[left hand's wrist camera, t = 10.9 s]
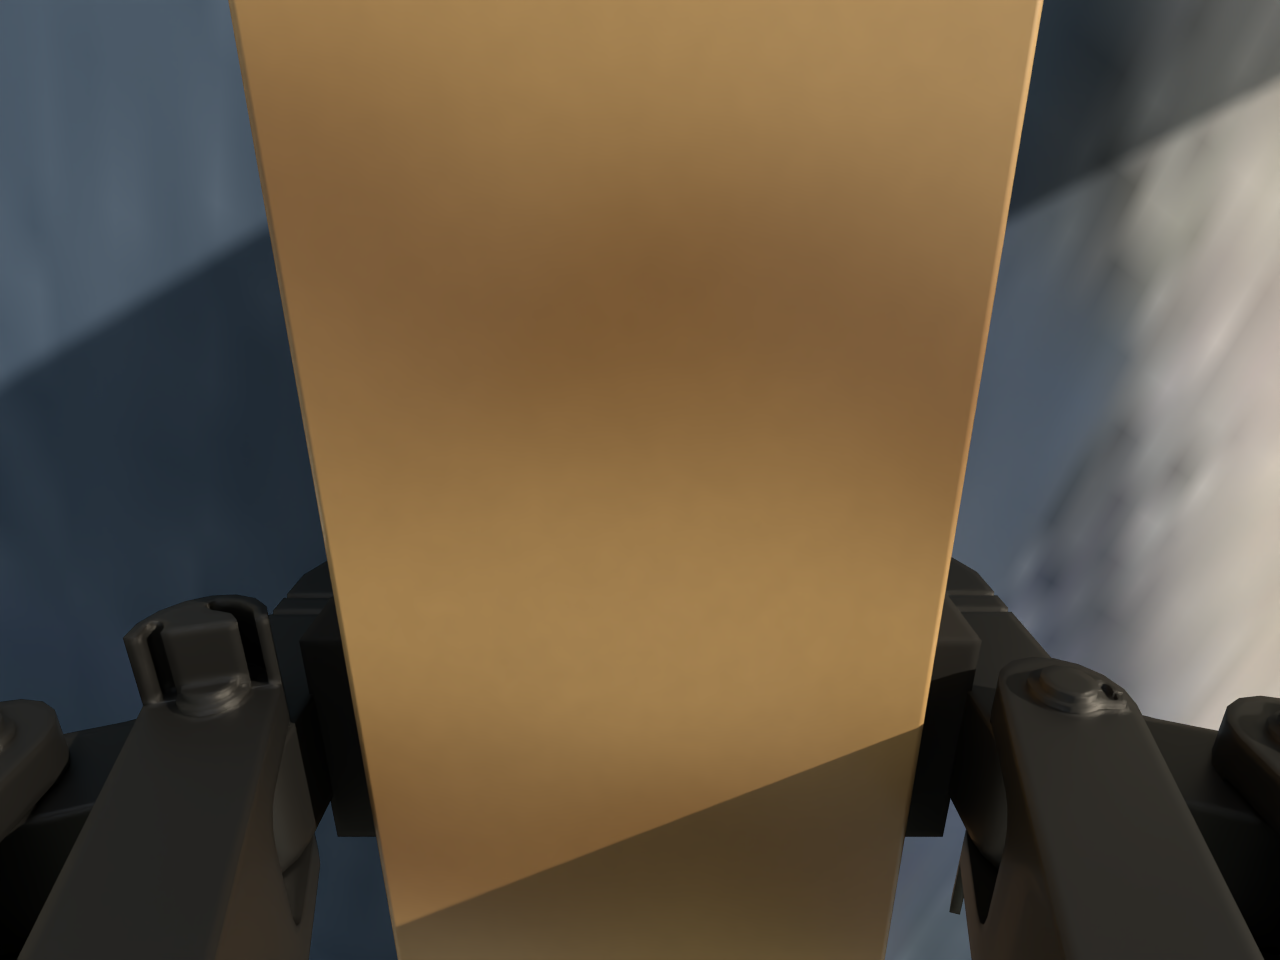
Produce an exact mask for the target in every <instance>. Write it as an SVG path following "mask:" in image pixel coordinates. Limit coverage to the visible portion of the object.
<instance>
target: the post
mask: <svg viewBox="0 0 1280 960" xmlns="http://www.w3.org/2000/svg"><path fill="white" fill-rule="evenodd" d="M228 1H229V7H230V12H231V18H232V23H233V29H234V35H235V40H236V46H237V52H238V57H239V63H240V69H241V74H242V80H243V86H244V91H245V97H246V103H247V108H248V114H249V120H250V125H251V131H252V137H253V142H254V148H255V154H256V159H257V165H258V171H259V176H260V182H261V188H262V193H263V199H264V205H265V210H266V216H267V221H268V227H269V233H270V238H271V244H272V250H273V255H274V261H275V267H276V272H277V278H278V284H279V289H280V295H281V301H282V306H283V312H284V318H285V323H286V329H287V335H288V340H289V346H290V352H291V357H292V363H293V369H294V374H295V380H296V386H297V391H298V397H299V403H300V408H301V414H302V419H303V425H304V431H305V436H306V442H307V448H308V453H309V459H310V465H311V470H312V476H313V482H314V487H315V493H316V499H317V504H318V510H319V516H320V521H321V527H322V533H323V538H324V544H325V550H326V555H327V561H328V567H329V572H330V578H331V584H332V589H333V595H334V601H335V606H336V612H337V617H338V623H339V629H340V634H341V640H342V646H343V651H344V657H345V663H346V668H347V674H348V680H349V685H350V691H351V697H352V702H353V708H354V714H355V719H356V725H357V731H358V736H359V742H360V748H361V753H362V759H363V765H364V770H365V776H366V782H367V787H368V793H369V798H370V804H371V810H372V815H373V821H374V827H375V832H376V838H377V844H378V849H379V855H380V861H381V866H382V872H383V878H384V883H385V889H386V895H387V900H388V906H389V912H390V917H391V923H392V929H393V934H394V940H395V946H396V951H397V957H398V960H884V959H885V953H886V947H887V941H888V935H889V929H890V923H891V917H892V911H893V905H894V899H895V893H896V887H897V881H898V875H899V869H900V863H901V857H902V851H903V845H904V839H905V833H906V826H907V820H908V814H909V808H910V802H911V796H912V790H913V784H914V778H915V772H916V766H917V760H918V754H919V748H920V742H921V736H922V730H923V724H924V718H925V712H926V706H927V700H928V694H929V688H930V682H931V676H932V670H933V664H934V657H935V651H936V645H937V639H938V633H939V627H940V621H941V615H942V609H943V603H944V597H945V591H946V585H947V579H948V573H949V567H950V561H951V555H952V549H953V543H954V537H955V531H956V525H957V519H958V513H959V507H960V501H961V494H962V488H963V482H964V476H965V470H966V464H967V458H968V452H969V446H970V440H971V434H972V428H973V422H974V416H975V410H976V404H977V398H978V392H979V386H980V380H981V374H982V368H983V362H984V356H985V350H986V344H987V338H988V331H989V325H990V319H991V313H992V307H993V301H994V295H995V289H996V283H997V277H998V271H999V265H1000V259H1001V253H1002V247H1003V241H1004V235H1005V229H1006V223H1007V217H1008V211H1009V205H1010V199H1011V193H1012V187H1013V181H1014V175H1015V168H1016V162H1017V156H1018V150H1019V144H1020V138H1021V132H1022V126H1023V120H1024V114H1025V108H1026V102H1027V96H1028V90H1029V84H1030V78H1031V72H1032V66H1033V60H1034V54H1035V48H1036V42H1037V36H1038V30H1039V24H1040V18H1041V12H1042V5H1043V0H228Z"/></svg>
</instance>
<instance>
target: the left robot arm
mask: <svg viewBox="0 0 1280 960" xmlns="http://www.w3.org/2000/svg"><path fill="white" fill-rule="evenodd" d="M123 640H124V643H125V647H126V650H127V653H128V657H129V660H130V663H131V667H132V670H133V673H134V677H135V680H136V683H137V687H138V690H139V693H140V697H141V700H142V703H143V707H142V709H141V711H140V713H139V715H138V717H137V719H135V720H131V721H127V722H122V723H117V724H112V725H107V726H102V727H97V728H92V729H87V730H82V731H77V732H72V733H67V734H63V732H62V729H61V726H60V724H59V721H58V718H57V715H56V712H55V710H54V709H53V708H51V707H50V706H49V705H47V704H46V703H44V702H43V701H34V700H24V699H19V700H11V701H4V702H0V960H309V952H310V944H311V936H312V928H313V919H314V911H315V903H316V895H317V887H318V878H319V870H320V859H319V852H318V846H317V842H316V837H315V831H316V829H317V827H318V825H319V823H320V821H321V819H322V817H323V815H324V813H325V811H326V809H327V807H328V805H329V803H330V801H331V805H332V810H333V815H334V820H335V825H336V830H337V835H338V837H376V832H375V827H374V821H373V815H372V810H371V804H370V798H369V793H368V787H367V782H366V776H365V770H364V765H363V759H362V753H361V748H360V742H359V736H358V731H357V725H356V719H355V714H354V708H353V702H352V697H351V691H350V685H349V680H348V674H347V668H346V663H345V657H344V651H343V646H342V640H341V634H340V629H339V623H338V617H337V612H336V606H335V601H334V595H333V589H332V584H331V578H330V572H329V567H328V561H326V562H324V563H323V564H321V565H319V566H318V567H316V568H314V569H313V570H311V571H309V572H308V573H306V574H304V575H303V576H302V578H301V579H300V580H299V581H298V582H297V583H296V585H295V586H294V587H293V588H292V589H291V590H290V591H289V593H288V594H287V598H283V600H282V601H281V602H280V603H279V604H278V605H277V607H276V608H275V609H274V610H273V615H269V616H268V611H267V607H266V606H265V605H264V604H263V603H261V602H260V601H258V600H257V599H256V598H251V597H246V596H241V595H217V596H208V597H203V598H199V599H194V600H189V601H185V602H182V603H179V604H176V605H174V606H171V607H168V608H166V609H163V610H160V611H158V612H156V613H155V614H153V615H151V616H149V617H148V618H146V619H144V620H143V621H141V622H139V623H137V624H136V625H135V626H134V627H133V628H132V629H131V630H130V631H129V632H128V633H127V634H126V635H125V636H124V637H123ZM950 798H951V800H952V802H953V804H954V806H955V808H956V810H957V812H958V814H959V816H960V818H961V820H962V822H963V824H964V826H965V828H966V832H965V837H964V842H963V846H962V851H961V856H960V860H959V865H958V870H957V875H956V879H955V884H954V889H953V893H952V899H951V905H950V912H951V913H955V914H959V915H960V911H961V907H962V902H963V898H964V901H965V909H966V917H967V926H968V934H969V942H970V950H971V958H972V960H1280V698H1273V697H1266V696H1254V697H1245V698H1239V699H1237V700H1236V701H1234V702H1233V703H1231V704H1230V705H1229V706H1227V709H1226V711H1225V714H1224V717H1223V720H1222V723H1221V725H1220V728H1219V731H1216V730H1211V729H1206V728H1201V727H1195V726H1190V725H1185V724H1180V723H1175V722H1170V721H1165V720H1160V719H1155V718H1151V717H1147V716H1143V715H1142V714H1141V712H1140V710H1139V708H1138V706H1137V704H1136V703H1135V702H1134V701H1133V700H1132V698H1131V697H1130V696H1129V695H1128V693H1127V692H1126V691H1125V690H1124V689H1123V688H1122V687H1120V686H1119V685H1117V684H1116V683H1114V682H1113V681H1111V680H1110V679H1108V678H1107V677H1106V676H1104V675H1102V674H1100V673H1097V672H1095V671H1093V670H1090V669H1088V668H1086V667H1084V666H1081V665H1079V664H1075V663H1071V662H1067V661H1063V660H1058V659H1054V658H1051V657H1050V656H1049V655H1048V654H1047V652H1046V651H1045V650H1044V649H1043V648H1042V647H1041V645H1040V644H1039V643H1038V642H1037V641H1036V640H1035V639H1034V637H1033V636H1032V635H1031V634H1030V633H1029V632H1028V630H1027V629H1026V628H1025V627H1024V626H1023V625H1022V624H1021V622H1020V621H1019V620H1018V619H1017V618H1016V617H1015V615H1014V614H1013V613H1012V612H1008V607H1007V606H1006V605H1005V604H1004V603H1003V602H1002V600H1001V599H1000V598H999V597H998V596H997V595H994V591H993V590H992V589H991V588H990V587H989V585H988V584H987V583H986V582H985V581H984V580H983V579H982V577H981V576H980V575H979V574H978V573H977V572H976V571H974V570H972V569H971V568H969V567H967V566H966V565H964V564H962V563H961V562H959V561H957V560H956V559H954V558H952V557H951V561H950V567H949V573H948V579H947V585H946V591H945V597H944V603H943V609H942V615H941V621H940V627H939V633H938V639H937V645H936V651H935V657H934V664H933V670H932V676H931V682H930V688H929V694H928V700H927V706H926V712H925V718H924V724H923V730H922V736H921V742H920V748H919V754H918V760H917V766H916V772H915V778H914V784H913V790H912V796H911V802H910V808H909V814H908V820H907V826H906V833H905V837H943V833H944V828H945V823H946V818H947V813H948V808H949V803H950Z"/></svg>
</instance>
